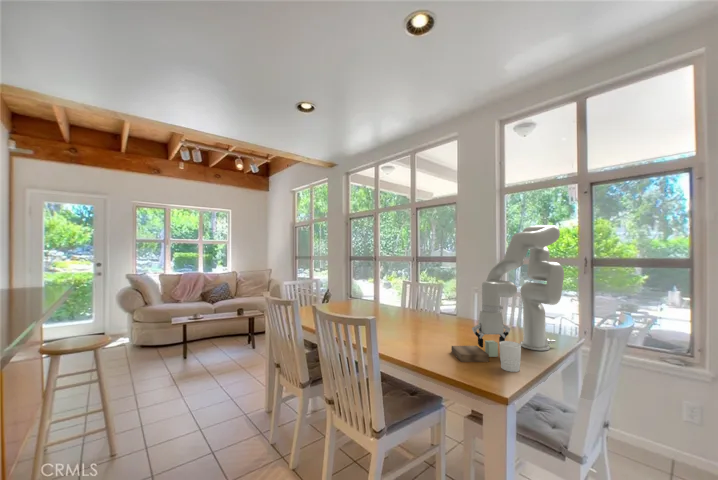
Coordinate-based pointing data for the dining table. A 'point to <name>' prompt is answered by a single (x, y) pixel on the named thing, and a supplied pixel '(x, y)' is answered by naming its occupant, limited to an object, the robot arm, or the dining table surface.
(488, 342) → the sage block
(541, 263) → the robot arm
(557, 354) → the dining table surface
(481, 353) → the walnut base
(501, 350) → the white cup
